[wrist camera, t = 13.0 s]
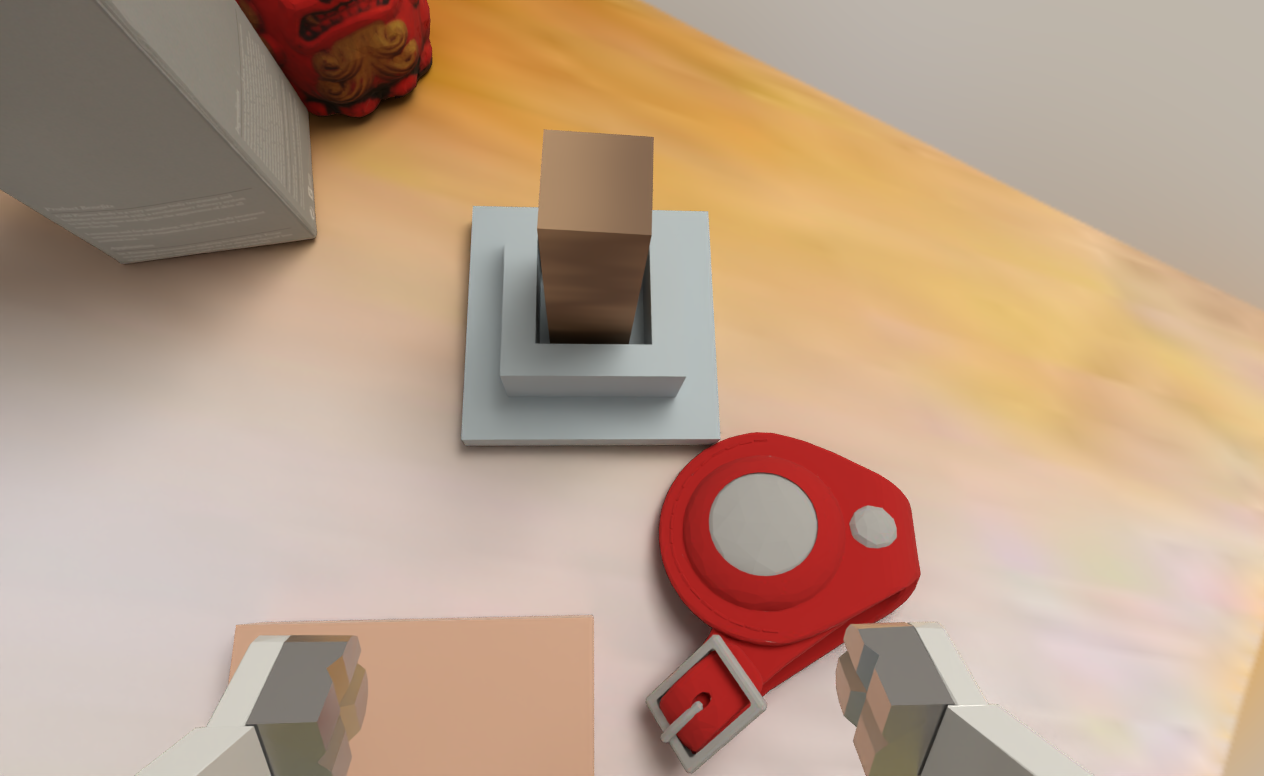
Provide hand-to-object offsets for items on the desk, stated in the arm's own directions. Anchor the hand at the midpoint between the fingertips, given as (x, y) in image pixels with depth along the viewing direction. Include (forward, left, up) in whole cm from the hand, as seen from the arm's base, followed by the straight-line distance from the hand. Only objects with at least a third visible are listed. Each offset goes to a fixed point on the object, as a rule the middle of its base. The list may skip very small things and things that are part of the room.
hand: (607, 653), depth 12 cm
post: (0, +11, -14) cm, 18 cm away
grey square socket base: (0, +12, -15) cm, 19 cm away
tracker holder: (+6, +1, -16) cm, 17 cm away
